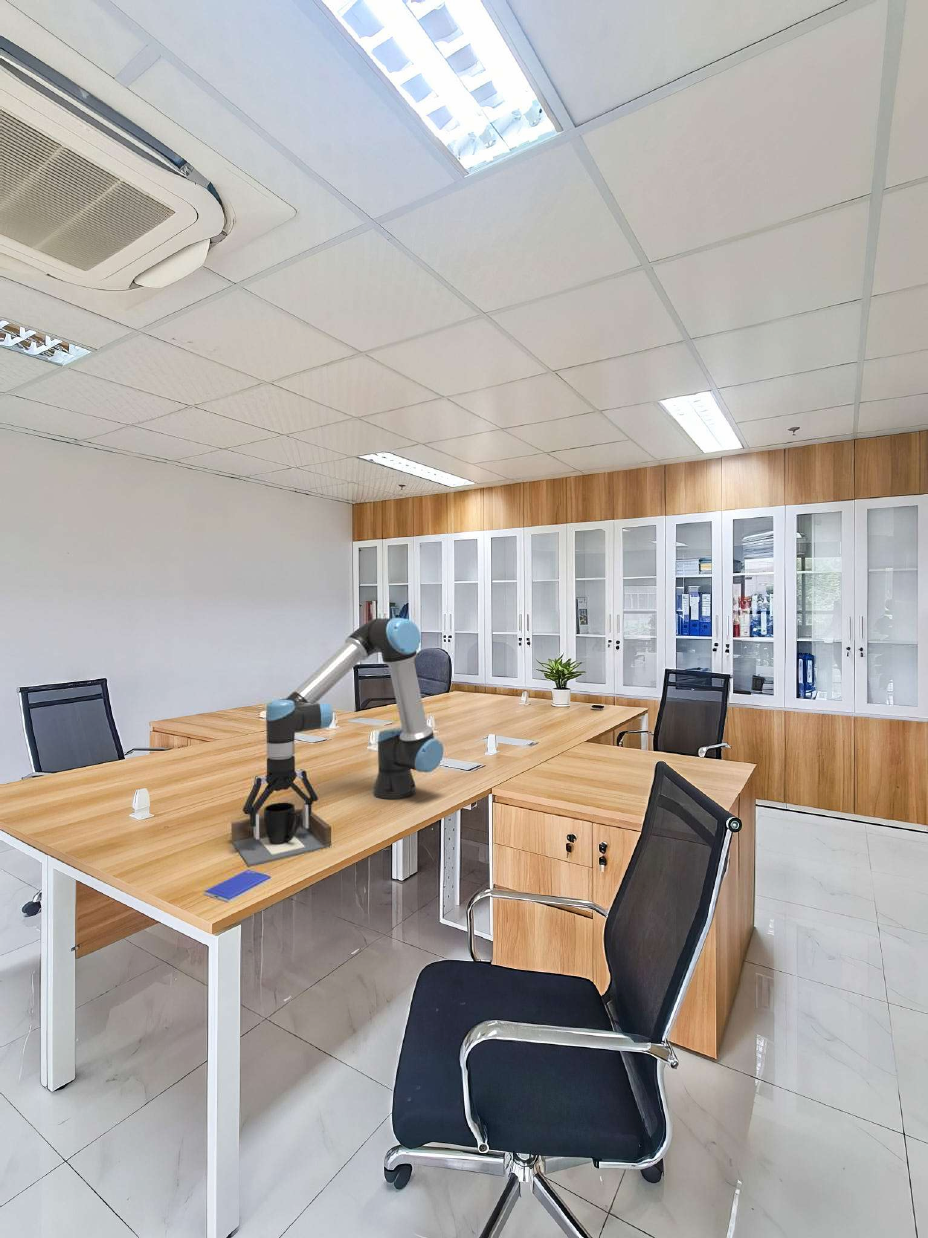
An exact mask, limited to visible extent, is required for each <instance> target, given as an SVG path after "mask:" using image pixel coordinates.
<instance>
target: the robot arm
mask: <svg viewBox="0 0 928 1238" xmlns="http://www.w3.org/2000/svg"><path fill="white" fill-rule="evenodd" d="M421 637H422V636H421V632H420V630H419V628H418V625H416V623H414V621H412V620H410V619H407V618H402V617H389V618H388V617H387V618H382V617H381V618H379V617H378V618H374V619H371V620H369V621H366V622H365V623H364V624H362V625H361V626H359V627H358V628H357V629H356V630H354V632H352V633H351V634H350V635H348V636H347V638H345V640H344V644H343V645H342V646H341V647H340V648H339V649H338V650H336V652H335V653H334V654H333V655H332V656H331V657H329V658H328V659H327V660H326V661H325V662H324V663H323V664H322V665H321V666H320V667H319V668H318V669H316V671H315V672H313V673H312V674H311V675H310V676H309V677H308V678H307V679H306V680H305V681H304V682H302V684H300V685H299V686H298V687H297V688H296V689H295V690H294V691H293V692H292V693H291V694H289V695H288V696H287V697H286V698H281V699H280V698H279V699H277V700H271V701H269V702H268V703H267V704H266V709H265V710H266V711H265V712H266V713H265V726H266V729H265V730H266V756H267V757H266V776H261V777H260V776H259V775H256V776H255V777H254V783H253V786H252V788H251V791H250V793H249V794H248V797H247V799H246V802H245V803H244V805H243V808H242V812H243V813H244V814H245V815H249V819H250V825H251V826H252V827H254V837H255V838H256V839H259V817H260V814H259V813H258V812H259V810H260V809H261V808H262V806H263V805H264V803H265V802H267V800H268V798H270V795H271V794H273V792H274V791H275V792H280V791H282V790H284V791H286V790H289V788H291V789H292V790H293V792H295V793H296V794H297V795H298V796H299V797H300V798H301V799H302V800H303V801H304V802H303V803H302V808H303V827H305V828H306V829H307V828H308V815H311V811H312V805H313V804H314V802H317V801H318V800H319V797H318V796H317V793H316V792H315V790H314V788H313V786H312V784H311V782H310V780H309V779H308V775H307V771H306V770H304V769H303V768H301V769H300V770H297V771H296V757H295V754H296V751H295V750H296V749H295V748H296V745H295V739H296V737H295V736H296V735H295V734H296V733H301V732H308V731H314V730H321V729H324V728H328V727H330V726H331V725H332V722H333V719H334V713H333V712H334V711H333V709H332V708H333V707H332V706H331V705H330V704H329V703H327V702H319V701H320V700H321V699H322V698H323V697H324V696H325V695H326V694H327V693H328V692H329V691H331V689H333V687H335V685H337V683H338V682H339V681H340V680H341V679H342V678H344V677H345V676H346V675H347V674H348V673H349V672H350V671H351V670H352V669H353V668H354V667H355V666H356V665H357V664H358V663H359V662H360V661H365V660H367V659H368V658H369V657H370V656H372V655H373V654H376V653H380V654H381V659H382V663H384V664H385V665H387V666H388V670H389V674H390V679H391V683H392V688H393V693H394V697H395V702H396V707H397V710H398V711H397V712H398V715H399V716H398V717H399V721H400V726H401V727H400V728H390V729H385V730H382V731H380V732H379V733H378V735H377V736H378V737H377V739H378V740H377V756H378V758H377V761H378V764H377V765H378V772H377V777H376V778H375V782H374V785H373V795H374V796H375V797H377V798H380V799H385V800H397V799H405V798H410V797H411V796H413V795H415V794H416V793H417V791H416V787H417V786H416V783H415V780H414V776H413V774H412V771H411V770H413V771H417V772H419V773H431V772H432V771H434V770H436V769H437V768H438V767H439V766H440V764H441V761H442V760H443V756H444V746H443V744H442V742H441V741H440V740H439V739H437V738H435V736H434V730H433V728H432V727H430V725H428V723H427V717H426V713H425V709H424V703H423V699H422V698H423V697H422V694H421V690H420V685H419V680H418V675H417V672H416V670H417V669H416V664H415V659H416V657H417V656H418V653H417V650H418V649H419V647H420V643H421V640H422V639H421ZM297 777H298V779H300V780H301V782H302V783H303V786H304V788H305V789H306V791H307V793H308V794H309V797H308V796H307V795H306V794H305V792H304V791H302V790H301V789H300V787H298V785H297V784H295V783H294V781H295V780H296V778H297ZM264 783H267V785H266V787H265V788H264V789H263V791H262V792H261V794H260V795H259V797H258V798H257V796H258V794H259V792H260V791H261V787H262V786H263V785H264ZM256 798H257V799H256ZM255 800H256V801H255Z"/></svg>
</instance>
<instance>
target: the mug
mask: <svg viewBox="0 0 928 1238" xmlns="http://www.w3.org/2000/svg"><path fill="white" fill-rule="evenodd" d="M295 806H296V805H295V804H293V803H292V802H291V803H290V802H277V803H271V804H269V805H267V806H265V807H264V809H263V816H264V823H265V828H266V832H267V835H268V839H269V842H270V843H271V844H275V845H276V844H284V843H287V842H288V841H291V840H292V839H293V837H294V835H295V833H296V831H297V829H298V827H299V825H300V822H301V815H300V813H297V812H295V810H296V807H295ZM295 816H296V824H295V827H294V829H293V825H294V818H295ZM292 830H293V831H292Z"/></svg>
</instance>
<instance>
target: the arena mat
mask: <svg viewBox="0 0 928 1238" xmlns="http://www.w3.org/2000/svg"><path fill="white" fill-rule="evenodd" d="M292 831H293V830H292ZM231 843H232V845H233V846H234V848H235V850H237V852H238V853H239V855H240V856H241V858H242V859H243V860H244V862H245V864H246V865H247V866H248V867H253V866H254V867H255V866H257V865H258V866H259V865H262V864H266V863H270V862H274V861H275V862H276V861H279V860H282V859H286V858H290V856H292V857H295V855H296V856H300V855H302V854H301V853H304V854H307V853H306V852H308V853H312V852H315V851H314V850H317V851H320V850H319V849H321V850H324V849H323V848H325V849H327V848H326V847H329V848H331V847H332V844H331V845H328V846H325V845H324V844H323V843H322V842H321V841H319V840H318V839H317V838H316V837H315V836H314V835H313V834H312V833H311V832H310V831H308V830H307V829H306V828H305V827H299V828H298V829H297V831H296V833H295V835H294V837H293V839H292V840H291V841H288V842H287V843H284V844H276V845H275V844H271V843H270V842H269V839H268V835H267V834H266V835H262V836H259V839H256V838H255V837H252V838H248V839H243V840H238V841H234V842H233V841H232V840H231ZM330 846H331V847H330ZM311 851H312V852H311ZM299 854H300V855H299ZM278 859H279V860H278Z"/></svg>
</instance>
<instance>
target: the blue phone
mask: <svg viewBox="0 0 928 1238" xmlns="http://www.w3.org/2000/svg"><path fill="white" fill-rule="evenodd" d="M270 879H271V880H272V876H271V875H269V874H266V873H262V872H258V871H255V870H251V869H246V870H245V871H243V872H240V873H238V874H236V875H235V876H232V877H230V878H229V879H226V880H224V881H222V882H220V883H218V884H217V885H214V886H211V887H210V888H208V889H205V890H204V892H203V893H204V896H208V897H209V898H214V899H216V900H219V899H220V901H224V902H226V903H230V902H232V901H234V900H236V899H238V898H240V897H242V896H244V895H246V894H248V893H250V892H251V891H253V890H254V889H253V888H255V889H257V888H259V887H260V886H259V885H261V886H262V885H264V884H266V883H268V882H270V881H271V880H270ZM269 880H270V881H269ZM267 881H268V882H267ZM265 882H266V883H265ZM263 883H264V884H263ZM258 886H259V887H258ZM256 887H257V888H256ZM252 889H253V890H252ZM250 890H251V891H250Z"/></svg>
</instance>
